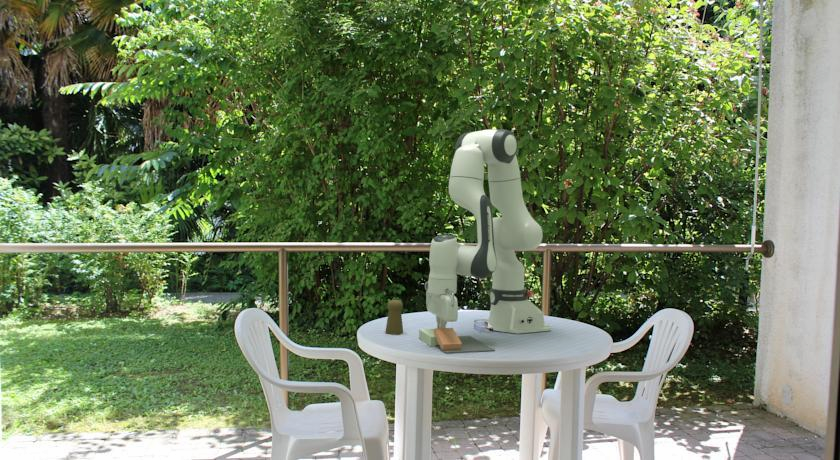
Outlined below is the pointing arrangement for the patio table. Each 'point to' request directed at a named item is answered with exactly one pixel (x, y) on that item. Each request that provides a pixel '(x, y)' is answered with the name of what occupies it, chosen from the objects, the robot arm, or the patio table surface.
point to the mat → (469, 346)
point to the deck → (428, 337)
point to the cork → (394, 318)
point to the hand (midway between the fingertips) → (441, 330)
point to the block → (447, 338)
